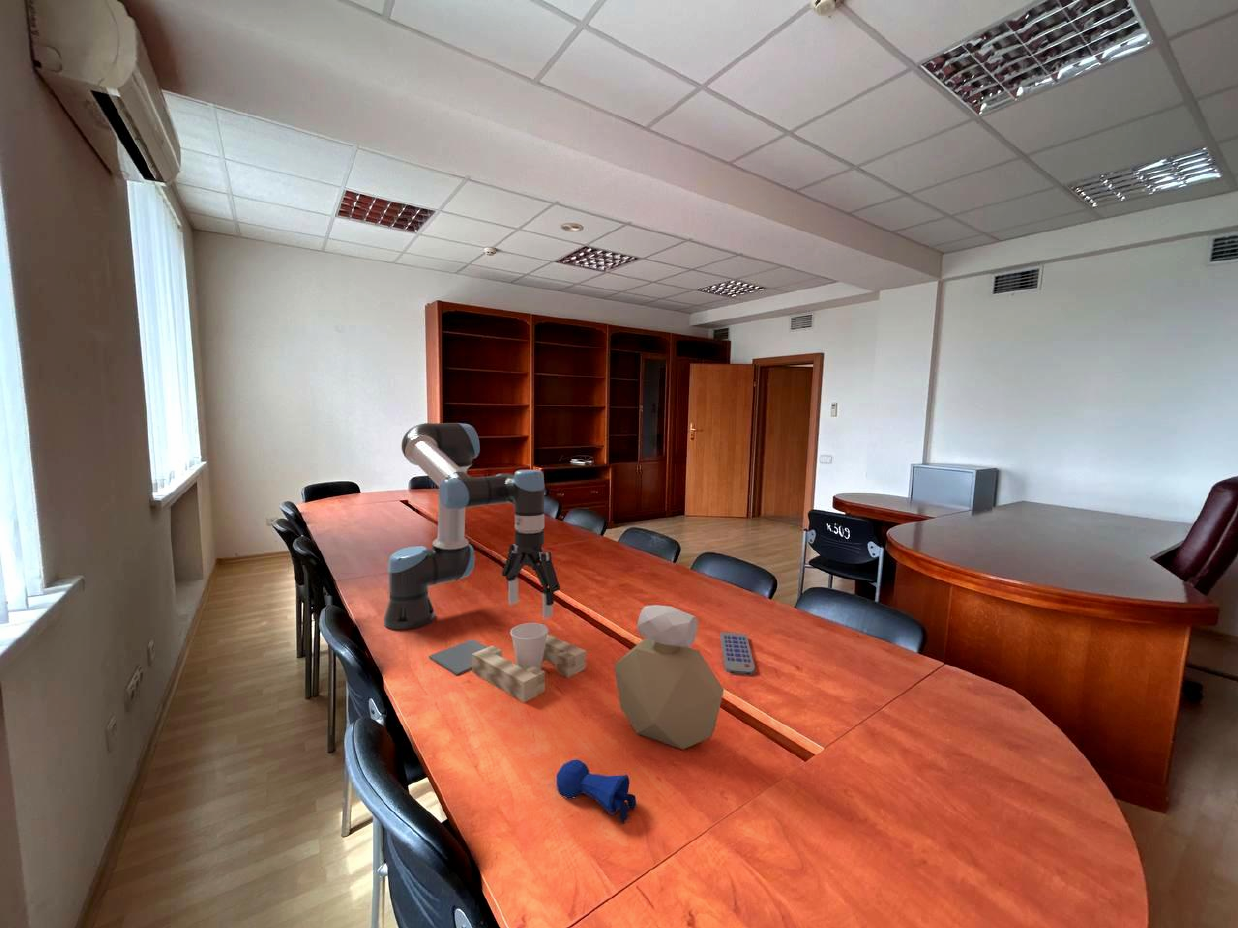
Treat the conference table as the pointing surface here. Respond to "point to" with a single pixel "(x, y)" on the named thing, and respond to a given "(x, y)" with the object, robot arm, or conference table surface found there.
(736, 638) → the remote control
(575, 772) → the toy
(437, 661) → the coaster
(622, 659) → the perfume bottle
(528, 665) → the cup
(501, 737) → the conference table surface
